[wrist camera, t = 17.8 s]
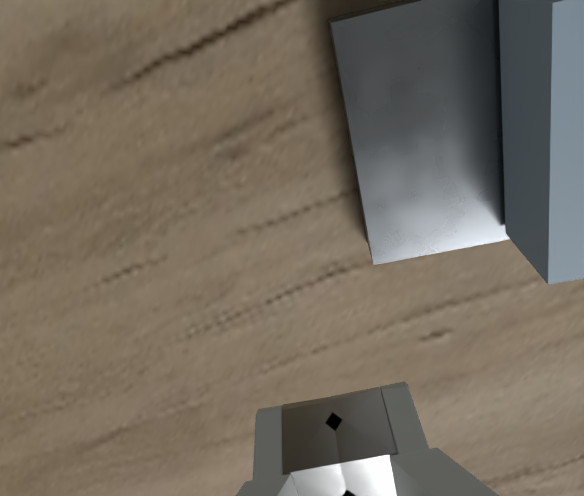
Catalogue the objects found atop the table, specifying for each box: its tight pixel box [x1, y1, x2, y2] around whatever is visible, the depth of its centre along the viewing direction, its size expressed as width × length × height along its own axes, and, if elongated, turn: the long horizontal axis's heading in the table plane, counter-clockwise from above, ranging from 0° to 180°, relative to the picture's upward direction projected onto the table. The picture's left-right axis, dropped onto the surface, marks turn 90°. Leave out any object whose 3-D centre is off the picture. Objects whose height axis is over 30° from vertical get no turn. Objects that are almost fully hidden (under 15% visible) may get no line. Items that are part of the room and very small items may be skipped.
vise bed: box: [328, 0, 510, 265], centre depth 18 cm, size 16×10×6 cm, turn 103°
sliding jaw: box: [499, 0, 584, 285], centre depth 17 cm, size 2×9×4 cm, turn 13°
